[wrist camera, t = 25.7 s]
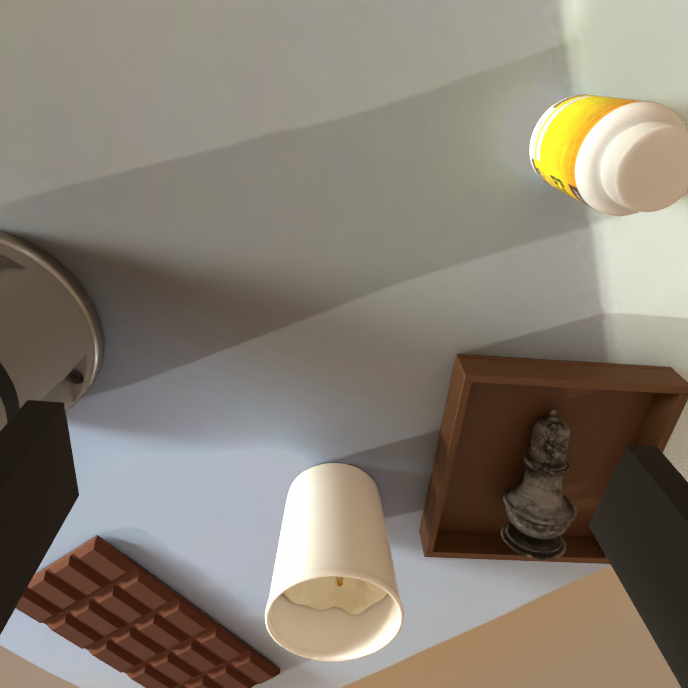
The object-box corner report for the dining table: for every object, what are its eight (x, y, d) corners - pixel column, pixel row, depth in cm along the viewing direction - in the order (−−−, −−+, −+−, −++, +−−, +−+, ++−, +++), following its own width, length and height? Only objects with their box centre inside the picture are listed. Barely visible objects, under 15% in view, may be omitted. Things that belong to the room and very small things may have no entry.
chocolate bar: (4, 592, 52) (-1, 601, 51) (97, 535, 49) (93, 544, 48) (192, 709, 63) (191, 718, 62) (280, 669, 59) (279, 678, 59)
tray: (596, 538, 51) (610, 564, 48) (419, 531, 50) (424, 557, 47) (670, 366, 42) (693, 387, 39) (456, 353, 41) (465, 374, 38)
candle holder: (385, 533, 50) (400, 660, 39) (282, 536, 50) (269, 663, 39) (389, 453, 45) (407, 572, 35) (276, 455, 45) (259, 575, 34)
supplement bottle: (512, 172, 34) (576, 211, 25) (551, 81, 32) (638, 88, 23) (587, 196, 35) (676, 242, 26) (631, 109, 33) (745, 127, 24)
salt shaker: (487, 542, 44) (506, 410, 41) (509, 511, 49) (528, 390, 45) (560, 572, 41) (587, 431, 38) (576, 536, 45) (601, 407, 42)
